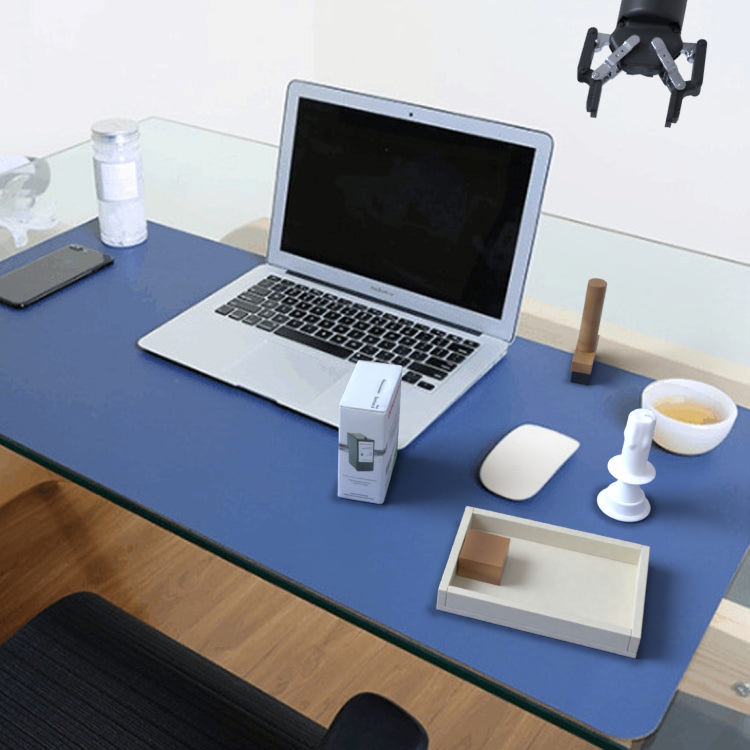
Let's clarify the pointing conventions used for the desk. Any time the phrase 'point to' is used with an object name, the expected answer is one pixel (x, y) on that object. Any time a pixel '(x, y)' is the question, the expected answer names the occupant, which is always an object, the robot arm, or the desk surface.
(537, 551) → the tray
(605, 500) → the candle
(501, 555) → the brown block
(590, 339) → the brush
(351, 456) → the ink box
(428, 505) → the desk surface
